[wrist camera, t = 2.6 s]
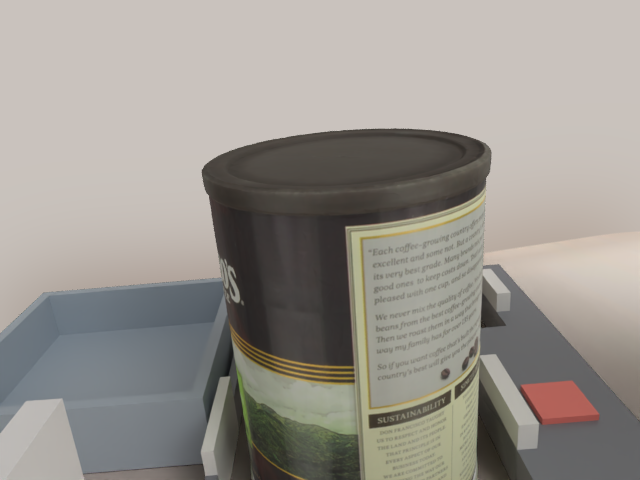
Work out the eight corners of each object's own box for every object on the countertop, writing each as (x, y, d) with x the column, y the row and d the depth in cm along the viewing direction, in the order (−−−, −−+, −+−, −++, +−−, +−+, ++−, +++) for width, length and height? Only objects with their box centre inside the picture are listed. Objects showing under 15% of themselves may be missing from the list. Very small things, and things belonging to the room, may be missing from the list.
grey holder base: (497, 289, 39) (499, 248, 38) (719, 567, 18) (737, 495, 17) (253, 309, 39) (247, 270, 38) (193, 610, 18) (177, 541, 17)
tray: (244, 323, 37) (238, 276, 36) (214, 462, 25) (202, 398, 23) (56, 339, 37) (43, 292, 36) (-69, 486, 25) (-96, 423, 23)
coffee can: (229, 562, 20) (159, 198, 15) (267, 392, 29) (233, 137, 24) (511, 558, 19) (535, 174, 14) (456, 384, 29) (458, 121, 24)
